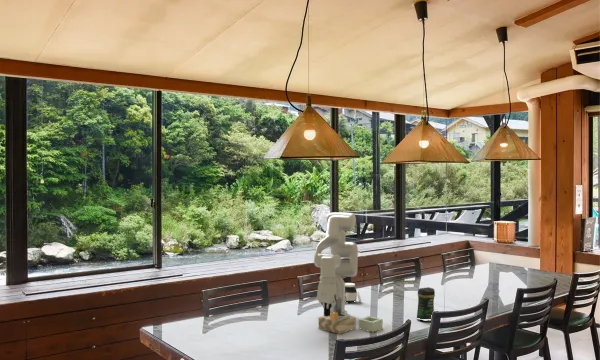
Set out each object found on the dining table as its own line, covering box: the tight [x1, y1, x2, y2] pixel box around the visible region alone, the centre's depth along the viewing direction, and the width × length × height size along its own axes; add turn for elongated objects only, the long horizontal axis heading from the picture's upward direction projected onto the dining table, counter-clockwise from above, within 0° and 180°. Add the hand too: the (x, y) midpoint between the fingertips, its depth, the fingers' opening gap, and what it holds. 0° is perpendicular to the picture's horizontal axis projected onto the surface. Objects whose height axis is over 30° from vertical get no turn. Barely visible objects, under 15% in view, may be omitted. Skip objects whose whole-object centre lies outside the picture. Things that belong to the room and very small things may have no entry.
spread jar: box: [345, 282, 362, 303], centre depth 318 cm, size 12×11×12 cm
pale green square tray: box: [358, 315, 384, 333], centre depth 259 cm, size 9×9×5 cm
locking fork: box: [330, 312, 351, 322], centre depth 255 cm, size 10×14×5 cm
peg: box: [333, 297, 342, 315], centre depth 259 cm, size 4×4×16 cm
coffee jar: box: [416, 286, 436, 319], centre depth 278 cm, size 10×8×19 cm
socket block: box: [318, 314, 356, 335], centre depth 259 cm, size 14×14×6 cm
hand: (326, 315), depth 251 cm, fingers closed
